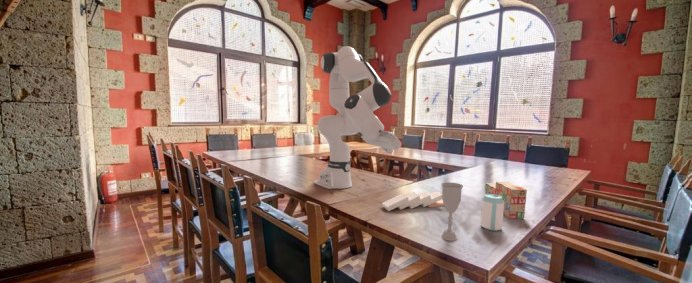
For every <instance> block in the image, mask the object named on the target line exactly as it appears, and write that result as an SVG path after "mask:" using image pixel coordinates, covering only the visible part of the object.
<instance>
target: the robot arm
mask: <svg viewBox="0 0 692 283" xmlns="http://www.w3.org/2000/svg"><path fill="white" fill-rule="evenodd" d="M320 67H321V71H322V72H324V73H325V74H329V75H330V76H329V84H328V91H329V92H328V95H329V96H328V97H329V105H330V106H331V107H332V108H333V109H335V110H336V111H337V112H338V115H337V114H334V115H332V114H329V115H324V116H321V117H320V118H319V119H318V121H317V124H316V125H317V129H318V132H319V134H321V135H322V136H323V137H324V138H325V139H326V142H327V143H328V146H329V160H327V161H326V164H327V166H326V167H325V168H323V169H322V170H321V171H320V172H319V173H318V179H317V180H315V181H313V184H315V185H318V186H320V187H322V188H325V189H328V190H329V189H330V190H331V189H337V190H338V189H340V190H341V189H348V188H351V187H353V183H352V177H351V168H352V167H351V165H352V163H351V147H350V145H349V144H348V143H347V142H345V141H343V139H342V136H353V135H358V136H360V137H361V139H363V141H364V143H366V144H367V145H371V146H376V147H379V148H381V149H382V150H383V151H384V152H385V154H386V153H387V154H392V153H393V152H394V151H397V152H398V150H399V149H400V148H401V147H402V142H401V140H400V138H398V137H397V136H396V135H395V134H394V133H393V132H391V131H389V130H385V125H384V124H383V123H382V122H381V120H380V119H379V117H378V116H377V115H376V114H374V111H376V110H377V109H379V108H382V107H383V106H386V105H389V103H390V101H391V99H392V92H391V90H390V88H389V87H388V85H387V84H385V83H384V82H383V81H382V79H381V78H380V77H379V75H378V74H377V72H376V70H375V69H374V68H373V67H372V65H370V63H369V62H368V61H364V59H363V56H362V54H359V53H358V52H357V51H356V50H355V49H354V48H353V47H352V46H348V45H344V46H343V47H341V48H339V50H338V51H336V52H331V51H330V52H325V53H324V54H322V56H321V59H320ZM365 79H368V80H369V81H370V83H371V84H370V85H369V86H367V87H366V88H364V89H363V90H361V91H359V92H357V93H354V94H351V95H350V83H356V82H359V81H362V80H365Z"/></svg>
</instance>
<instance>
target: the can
mask: <svg viewBox="0 0 692 283" xmlns="http://www.w3.org/2000/svg"><path fill="white" fill-rule="evenodd" d="M503 210H504V201H503V199H502V196H500V195H496V194H485V193H484V196H483V198H482V200H481V217H480V226H481V227H482V228H484V229H485V230H488V231H492V232H494V231H495V232H497V231H500V230H502V229H503V223H504V221H503V220H504V215H503Z"/></svg>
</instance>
